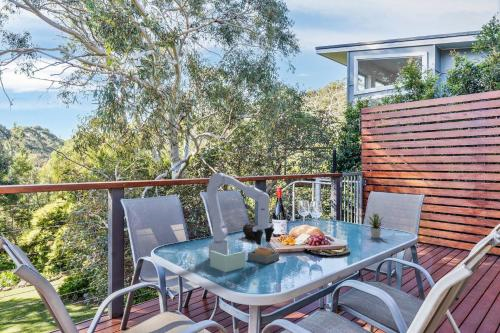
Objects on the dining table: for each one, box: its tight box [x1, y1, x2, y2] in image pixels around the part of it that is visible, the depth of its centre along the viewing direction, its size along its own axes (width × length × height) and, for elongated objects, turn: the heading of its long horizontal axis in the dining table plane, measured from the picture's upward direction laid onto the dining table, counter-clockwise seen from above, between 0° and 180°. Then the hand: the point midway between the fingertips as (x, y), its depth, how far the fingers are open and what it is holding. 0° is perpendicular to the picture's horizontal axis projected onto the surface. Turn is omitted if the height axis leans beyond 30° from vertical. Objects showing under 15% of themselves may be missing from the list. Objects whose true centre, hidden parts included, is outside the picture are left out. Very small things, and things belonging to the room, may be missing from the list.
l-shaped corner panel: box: [209, 250, 246, 273], centre depth 169 cm, size 12×12×8 cm
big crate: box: [247, 250, 280, 265], centre depth 180 cm, size 10×12×4 cm
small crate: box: [254, 246, 273, 257], centre depth 180 cm, size 5×7×5 cm
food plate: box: [307, 245, 351, 256], centre depth 196 cm, size 25×23×4 cm
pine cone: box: [242, 222, 264, 243], centre depth 225 cm, size 10×18×10 cm, turn 35°
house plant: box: [365, 212, 385, 239], centre depth 231 cm, size 14×14×16 cm
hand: (263, 243), depth 180 cm, fingers open, 7 cm apart
